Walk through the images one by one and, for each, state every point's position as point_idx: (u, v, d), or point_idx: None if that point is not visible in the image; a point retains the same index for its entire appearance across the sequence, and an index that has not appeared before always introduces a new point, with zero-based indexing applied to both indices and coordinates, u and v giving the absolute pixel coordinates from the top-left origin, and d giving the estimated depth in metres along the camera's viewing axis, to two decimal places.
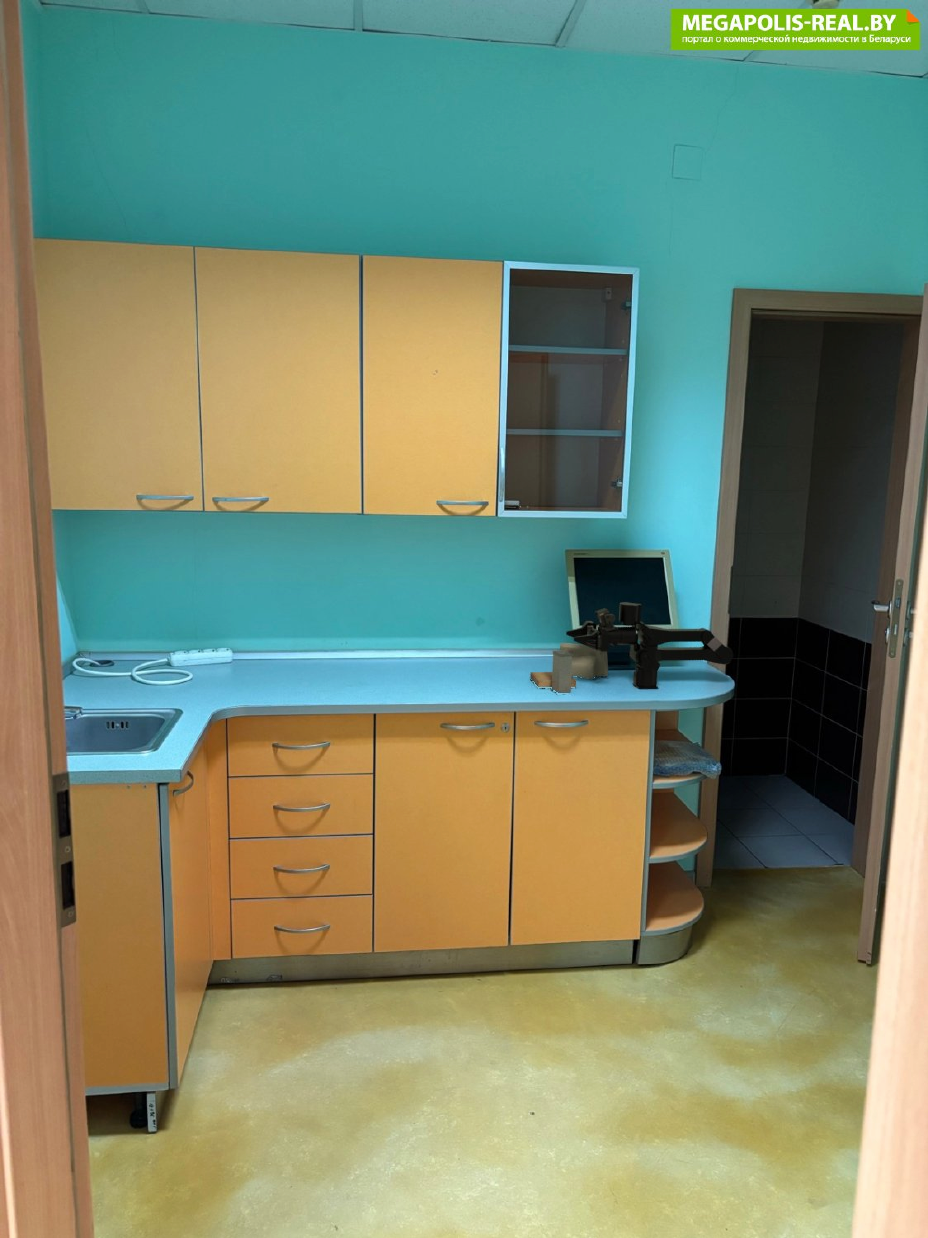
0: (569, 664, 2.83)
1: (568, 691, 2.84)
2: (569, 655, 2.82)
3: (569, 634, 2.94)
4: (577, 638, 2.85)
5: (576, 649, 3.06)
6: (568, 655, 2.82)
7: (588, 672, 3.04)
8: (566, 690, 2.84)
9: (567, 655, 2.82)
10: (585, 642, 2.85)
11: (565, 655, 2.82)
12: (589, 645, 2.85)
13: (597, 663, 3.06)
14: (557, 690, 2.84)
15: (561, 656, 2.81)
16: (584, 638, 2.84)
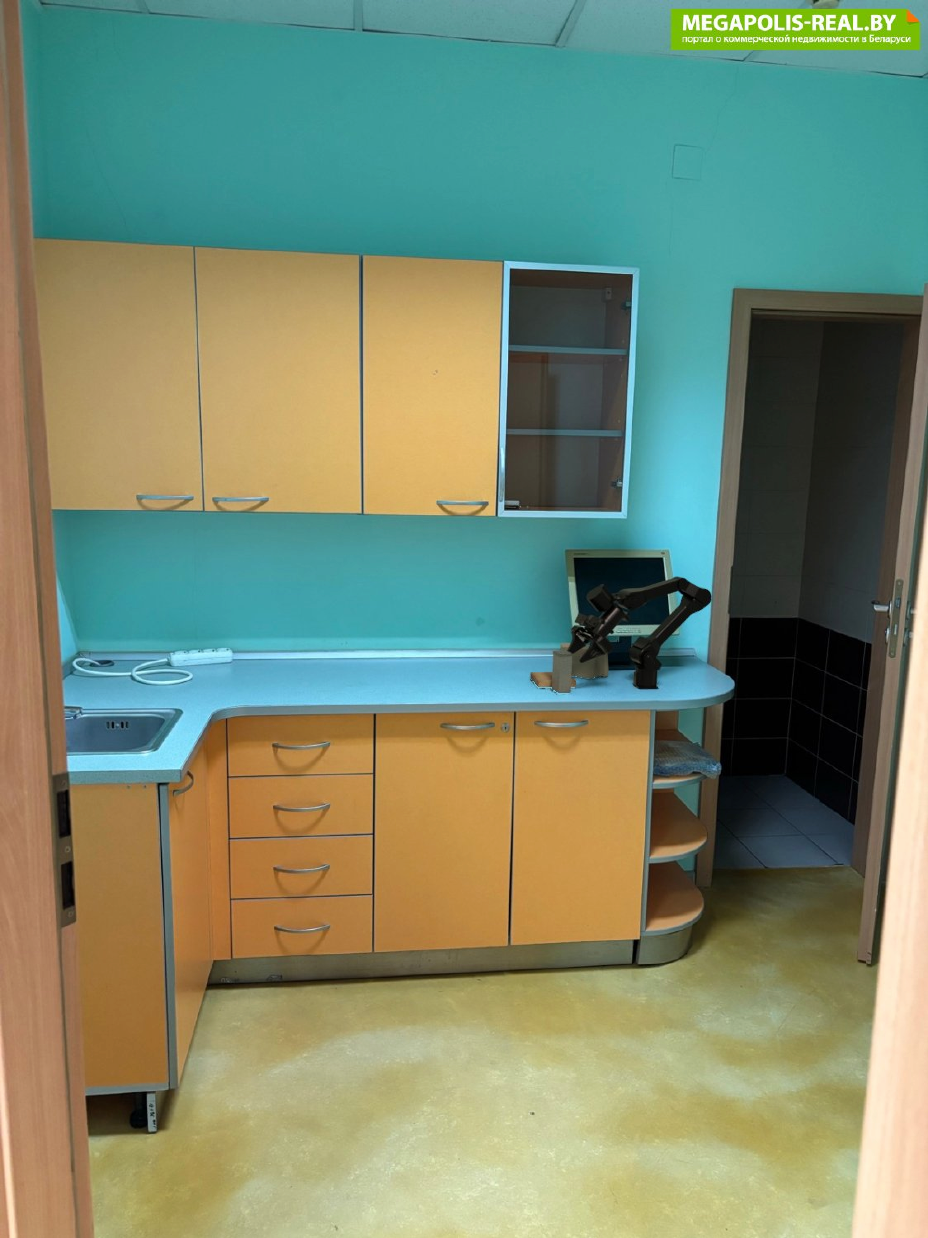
0: (569, 664, 2.83)
1: (568, 691, 2.84)
2: (569, 655, 2.82)
3: None
4: (582, 659, 2.81)
5: None
6: (568, 655, 2.82)
7: (589, 672, 3.04)
8: (566, 690, 2.84)
9: (567, 655, 2.82)
10: (591, 656, 2.81)
11: (565, 655, 2.82)
12: (596, 655, 2.81)
13: (597, 662, 3.06)
14: (557, 690, 2.84)
15: (561, 656, 2.81)
16: (587, 654, 2.81)
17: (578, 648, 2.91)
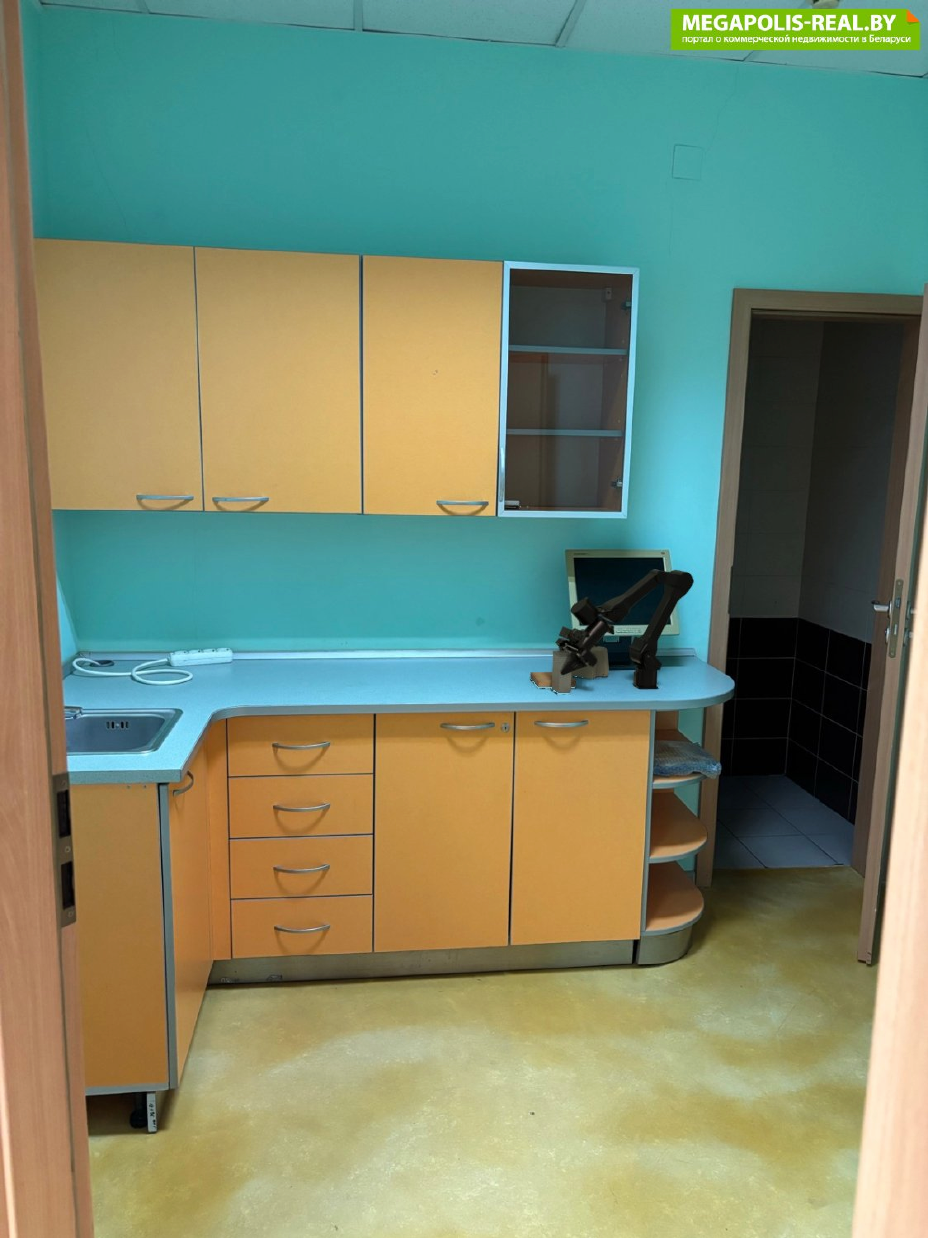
0: None
1: (568, 691, 2.84)
2: (569, 655, 2.82)
3: None
4: (563, 672, 2.82)
5: None
6: (568, 655, 2.82)
7: (589, 672, 3.04)
8: (566, 690, 2.84)
9: (567, 655, 2.82)
10: (572, 669, 2.82)
11: (565, 655, 2.82)
12: (577, 668, 2.82)
13: (597, 662, 3.06)
14: (557, 690, 2.84)
15: (561, 656, 2.81)
16: (569, 666, 2.81)
17: None
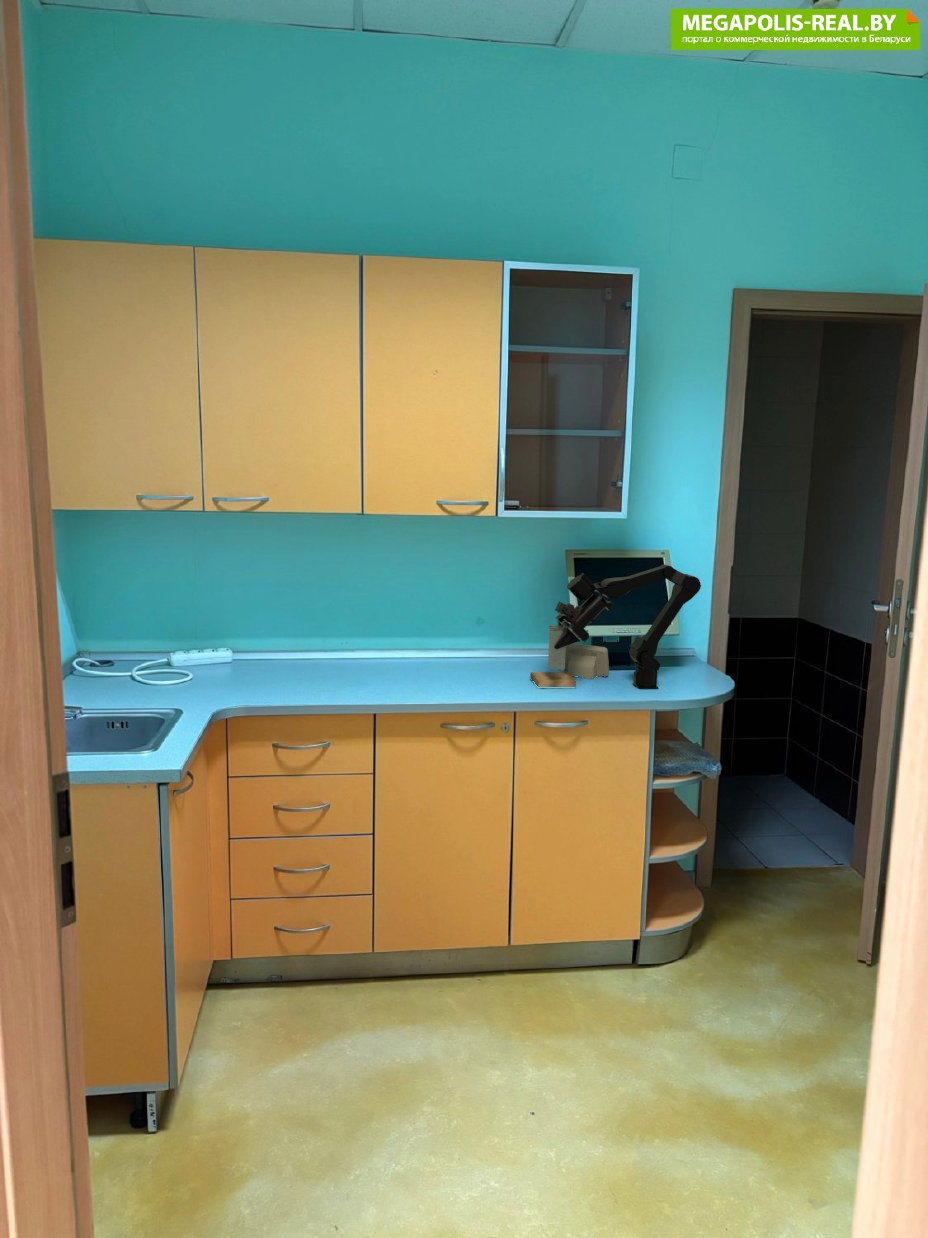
0: None
1: (562, 665, 2.88)
2: (563, 630, 2.85)
3: None
4: (557, 646, 2.85)
5: (577, 649, 3.06)
6: (562, 629, 2.85)
7: (589, 672, 3.04)
8: (560, 664, 2.87)
9: (561, 629, 2.85)
10: (566, 643, 2.85)
11: (559, 629, 2.85)
12: (570, 642, 2.85)
13: (598, 662, 3.06)
14: (551, 664, 2.88)
15: (554, 630, 2.85)
16: (562, 641, 2.85)
17: None
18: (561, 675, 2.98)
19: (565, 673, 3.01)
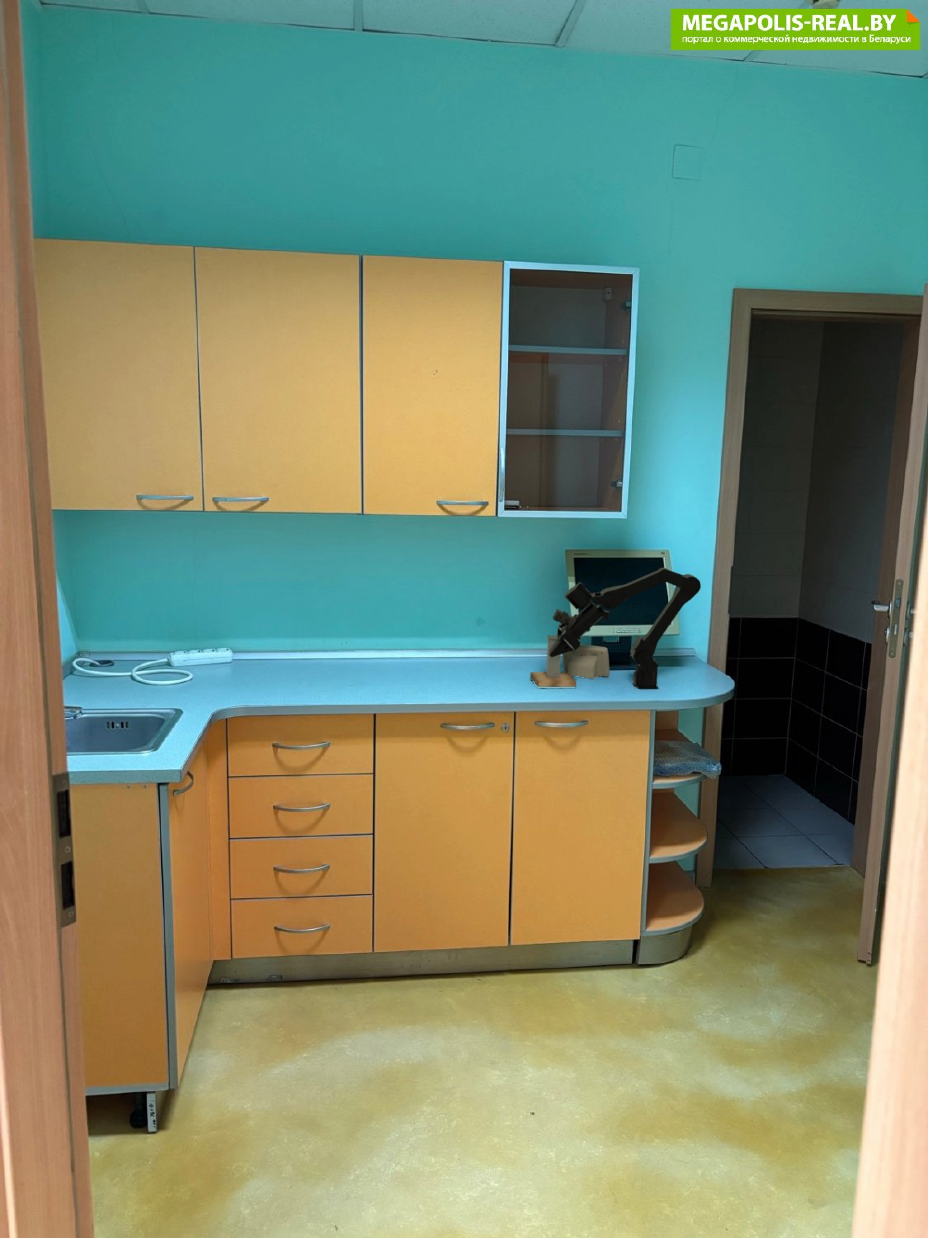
0: None
1: (557, 675, 2.94)
2: (558, 640, 2.92)
3: None
4: (552, 654, 2.90)
5: (577, 649, 3.07)
6: (557, 640, 2.92)
7: (589, 671, 3.04)
8: (555, 674, 2.94)
9: (556, 640, 2.92)
10: (560, 651, 2.89)
11: (554, 639, 2.92)
12: (565, 651, 2.89)
13: (598, 662, 3.06)
14: (547, 673, 2.95)
15: (549, 640, 2.92)
16: (557, 649, 2.89)
17: None
18: (561, 675, 2.98)
19: (565, 673, 3.01)
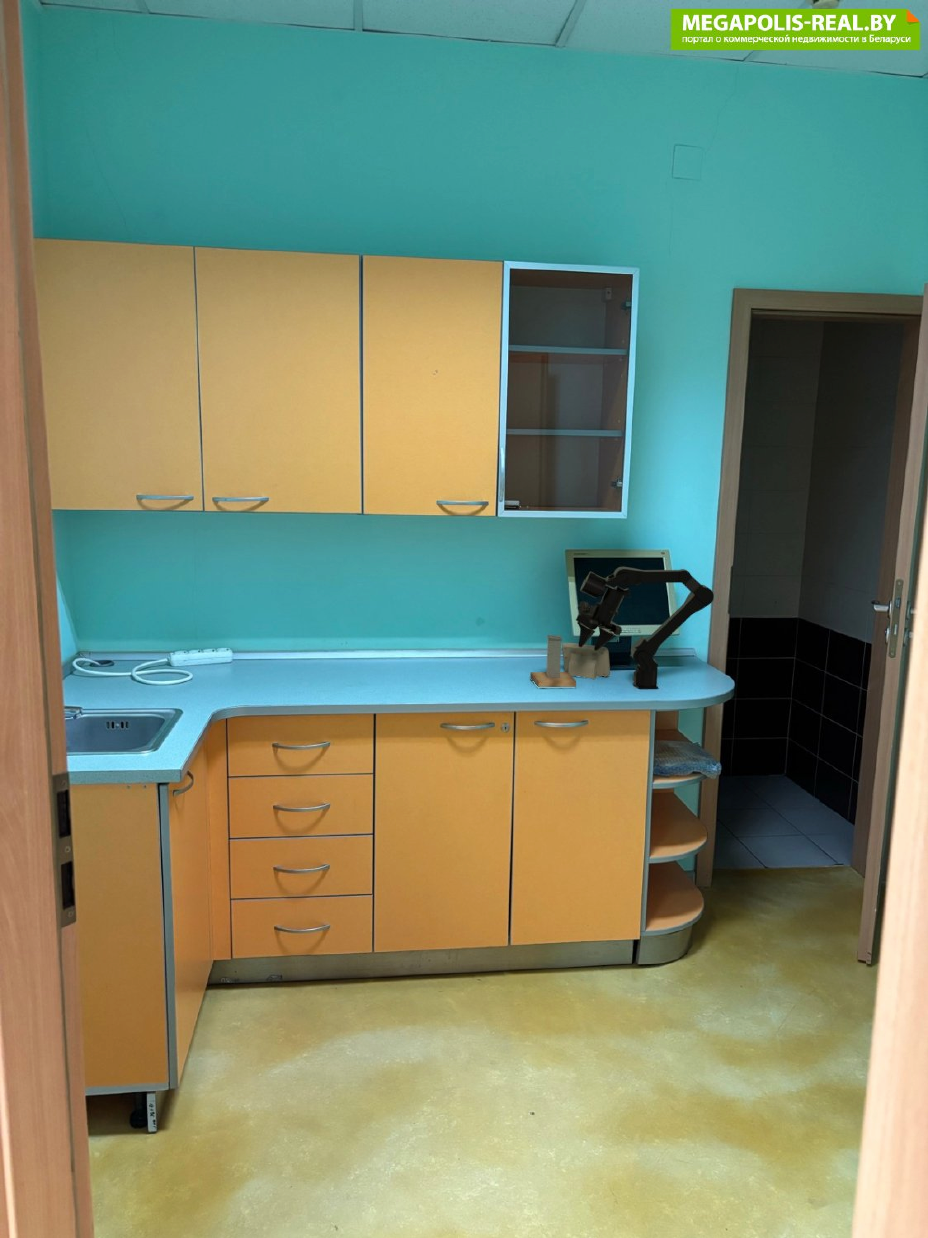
0: (558, 648, 2.92)
1: (557, 675, 2.94)
2: (558, 640, 2.92)
3: (597, 647, 2.98)
4: (579, 643, 2.91)
5: (577, 649, 3.07)
6: (557, 640, 2.92)
7: (590, 671, 3.04)
8: (555, 674, 2.94)
9: (556, 640, 2.92)
10: (584, 638, 2.90)
11: (554, 639, 2.92)
12: (587, 635, 2.89)
13: (598, 662, 3.06)
14: (547, 673, 2.95)
15: (549, 640, 2.92)
16: (581, 637, 2.91)
17: (605, 640, 2.97)
18: (561, 675, 2.98)
19: (565, 673, 3.01)
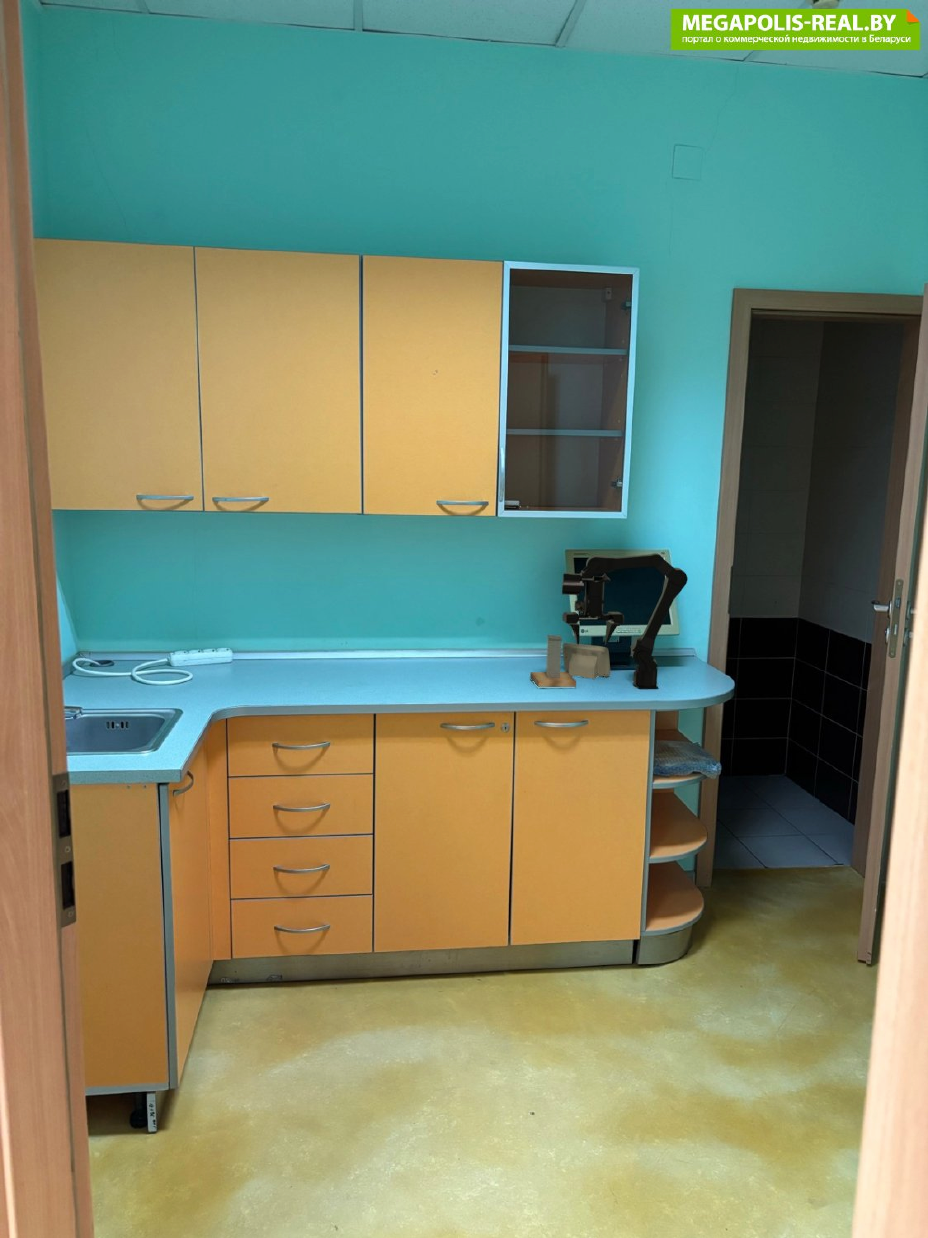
0: (558, 648, 2.92)
1: (557, 675, 2.94)
2: (558, 640, 2.92)
3: (605, 641, 2.95)
4: (576, 641, 2.95)
5: (578, 649, 3.07)
6: (557, 640, 2.92)
7: (590, 671, 3.04)
8: (555, 674, 2.94)
9: (556, 640, 2.92)
10: (575, 634, 2.93)
11: (554, 639, 2.92)
12: (575, 631, 2.92)
13: (599, 662, 3.06)
14: (547, 673, 2.95)
15: (549, 640, 2.92)
16: (574, 634, 2.94)
17: (608, 631, 2.94)
18: (561, 675, 2.98)
19: (565, 673, 3.01)
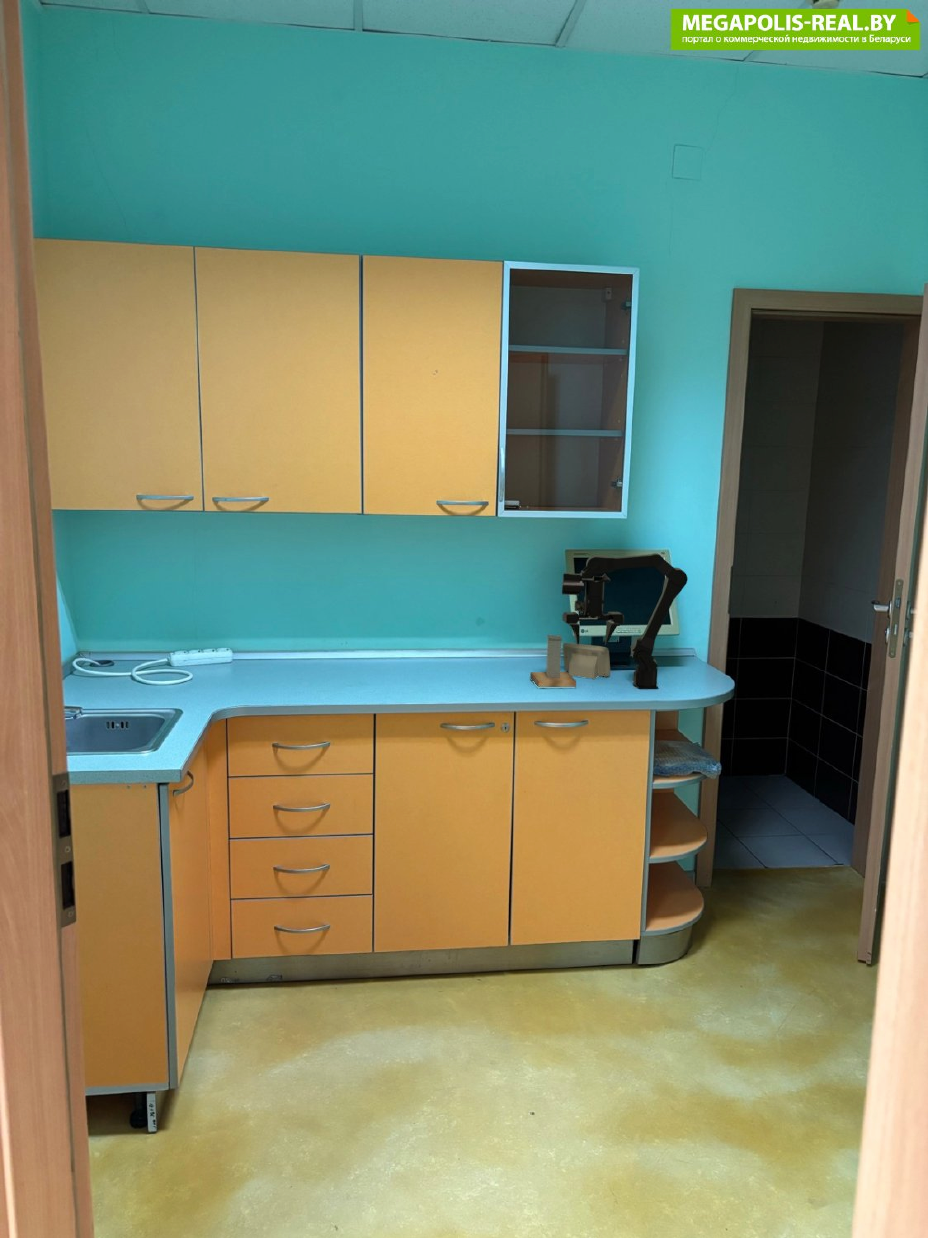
0: (558, 648, 2.92)
1: (557, 675, 2.94)
2: (558, 640, 2.92)
3: (605, 641, 2.95)
4: (576, 641, 2.95)
5: (578, 648, 3.07)
6: (557, 640, 2.92)
7: (590, 671, 3.04)
8: (555, 674, 2.94)
9: (556, 640, 2.92)
10: (575, 634, 2.93)
11: (554, 639, 2.92)
12: (575, 631, 2.92)
13: (599, 662, 3.06)
14: (547, 673, 2.95)
15: (549, 640, 2.92)
16: (574, 634, 2.94)
17: (608, 631, 2.94)
18: (561, 675, 2.98)
19: (565, 673, 3.01)
